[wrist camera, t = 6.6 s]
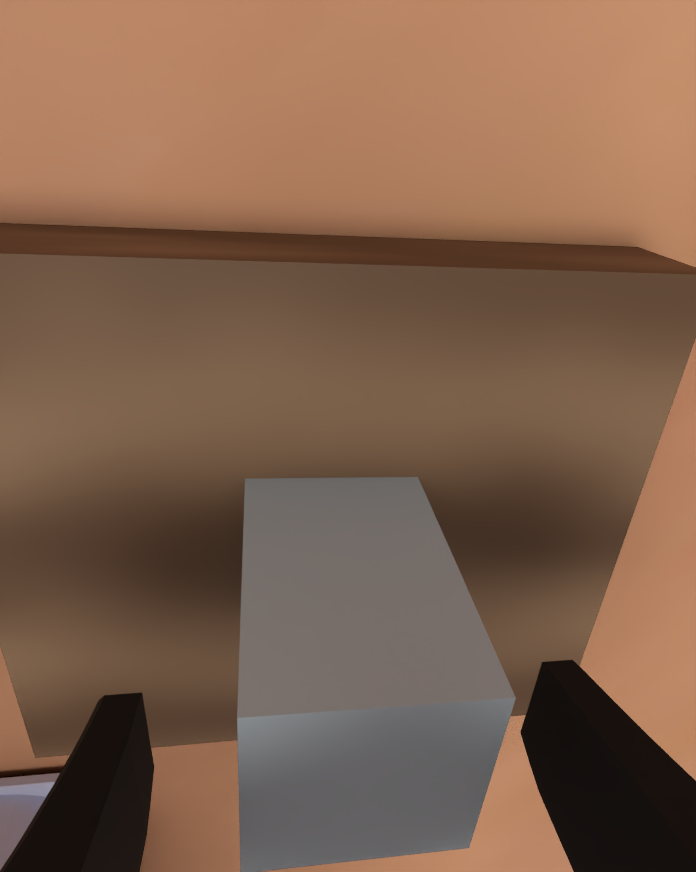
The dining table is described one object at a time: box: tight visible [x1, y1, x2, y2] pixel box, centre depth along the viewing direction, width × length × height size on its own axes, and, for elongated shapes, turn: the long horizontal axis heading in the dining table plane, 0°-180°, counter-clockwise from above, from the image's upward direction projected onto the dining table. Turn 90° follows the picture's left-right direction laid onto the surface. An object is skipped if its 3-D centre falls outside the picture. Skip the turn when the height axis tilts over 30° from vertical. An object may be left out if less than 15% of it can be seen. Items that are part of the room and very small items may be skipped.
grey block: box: [237, 477, 516, 872], centre depth 12 cm, size 4×4×6 cm
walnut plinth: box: [0, 223, 696, 758], centre depth 16 cm, size 14×16×3 cm
